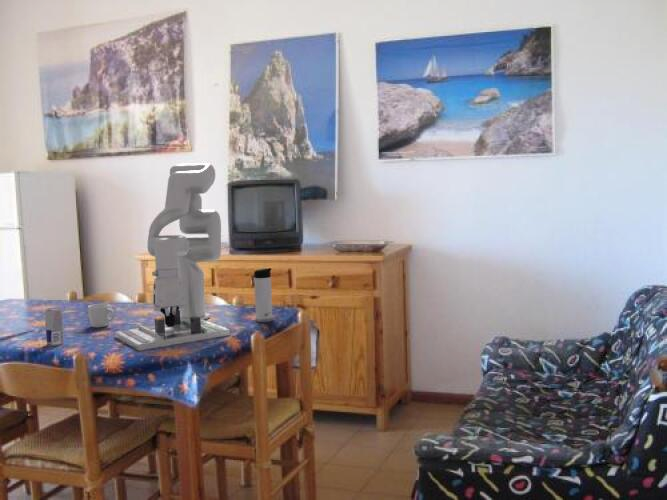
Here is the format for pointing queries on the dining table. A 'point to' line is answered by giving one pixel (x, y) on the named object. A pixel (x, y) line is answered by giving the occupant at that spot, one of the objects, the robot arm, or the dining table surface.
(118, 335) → the panel
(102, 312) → the cup
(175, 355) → the dining table surface
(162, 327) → the block
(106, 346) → the dining table surface
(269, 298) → the travel mug
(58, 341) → the energy drink
